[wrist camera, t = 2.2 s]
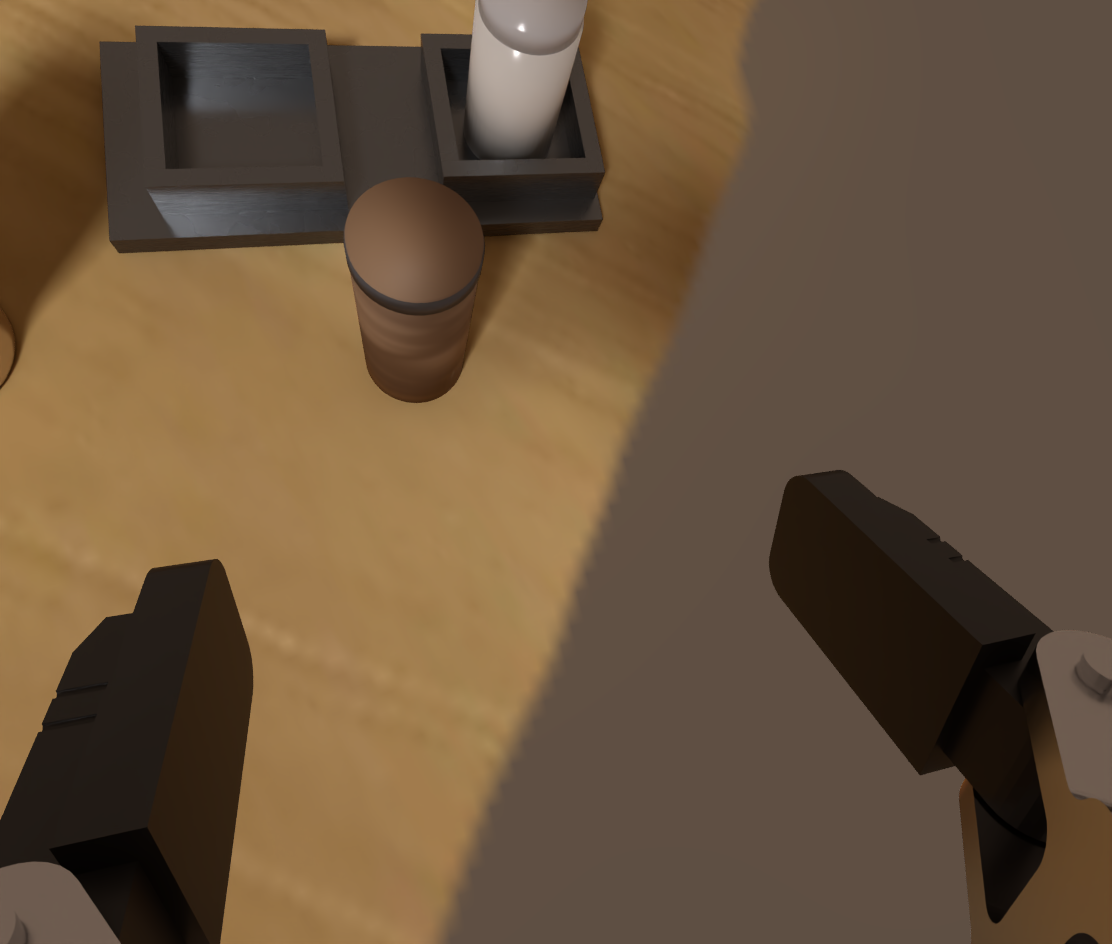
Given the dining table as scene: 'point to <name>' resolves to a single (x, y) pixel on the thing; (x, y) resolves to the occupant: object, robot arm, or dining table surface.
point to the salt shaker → (519, 75)
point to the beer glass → (6, 346)
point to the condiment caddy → (312, 139)
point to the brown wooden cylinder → (414, 283)
